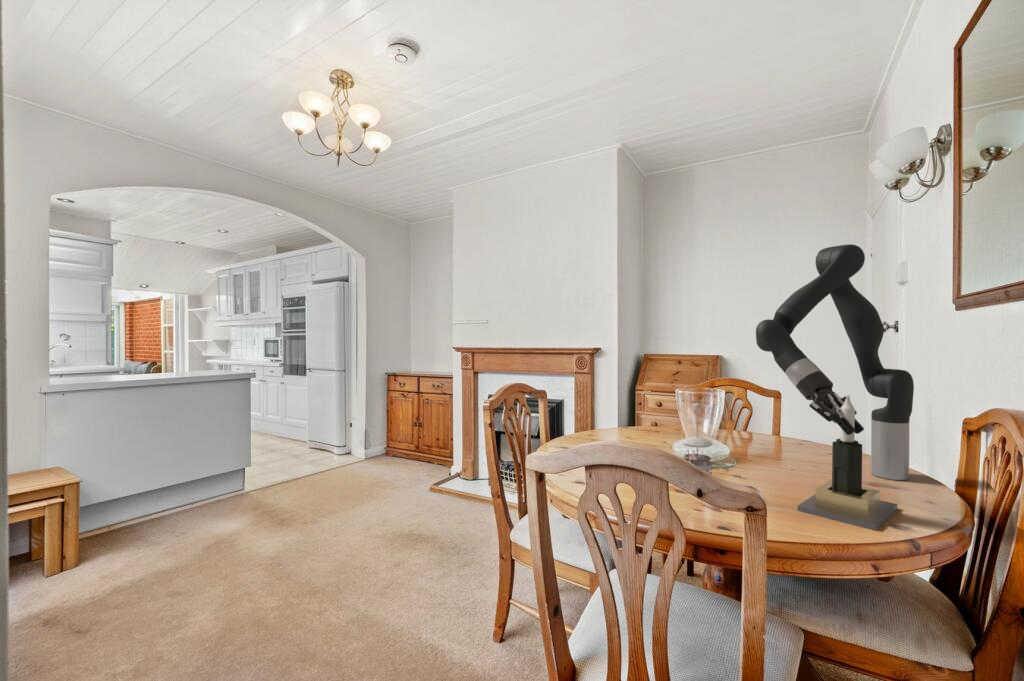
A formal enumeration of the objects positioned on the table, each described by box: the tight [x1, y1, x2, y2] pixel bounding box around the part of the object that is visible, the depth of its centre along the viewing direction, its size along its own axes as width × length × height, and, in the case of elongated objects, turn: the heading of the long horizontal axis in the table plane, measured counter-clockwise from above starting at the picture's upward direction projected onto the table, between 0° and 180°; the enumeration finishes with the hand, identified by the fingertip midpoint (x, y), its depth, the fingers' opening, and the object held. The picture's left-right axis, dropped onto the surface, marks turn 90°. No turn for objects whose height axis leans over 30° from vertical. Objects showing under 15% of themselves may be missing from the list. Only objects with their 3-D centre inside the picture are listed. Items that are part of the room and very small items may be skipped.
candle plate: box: [797, 479, 898, 531], centre depth 119 cm, size 20×16×5 cm
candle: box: [831, 394, 863, 496], centre depth 119 cm, size 5×5×25 cm
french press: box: [682, 402, 713, 475], centre depth 134 cm, size 10×12×25 cm
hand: (856, 432), depth 117 cm, fingers closed on candle, 3 cm apart
